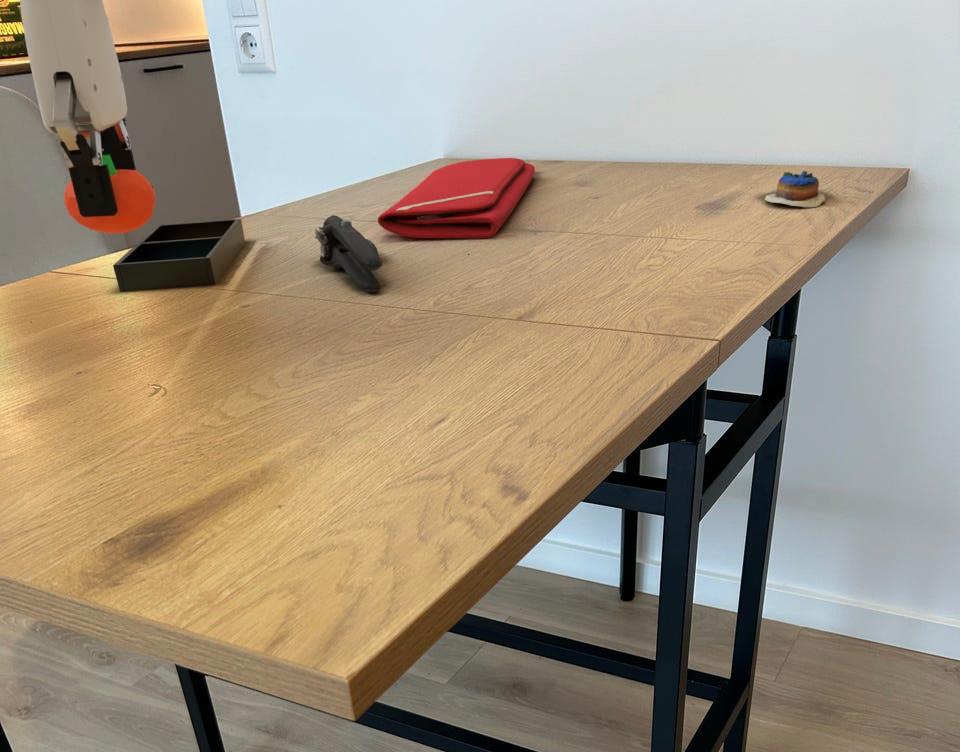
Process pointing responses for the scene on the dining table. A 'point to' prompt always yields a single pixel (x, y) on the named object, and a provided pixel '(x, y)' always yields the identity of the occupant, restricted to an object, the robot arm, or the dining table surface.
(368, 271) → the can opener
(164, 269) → the tray
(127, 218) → the pumpkin
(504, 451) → the dining table surface
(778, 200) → the dessert
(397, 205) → the red felt clutch
